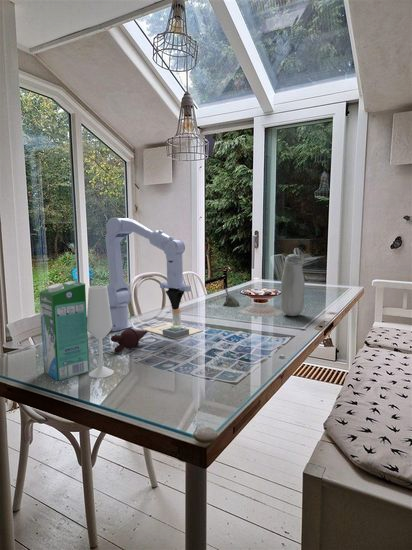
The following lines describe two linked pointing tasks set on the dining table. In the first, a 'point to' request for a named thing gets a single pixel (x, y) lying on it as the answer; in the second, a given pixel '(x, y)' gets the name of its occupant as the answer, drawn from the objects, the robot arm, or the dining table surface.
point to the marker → (176, 317)
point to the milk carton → (64, 330)
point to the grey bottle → (292, 286)
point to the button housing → (175, 334)
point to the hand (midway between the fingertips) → (175, 308)
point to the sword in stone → (230, 300)
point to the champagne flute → (99, 324)
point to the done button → (175, 328)
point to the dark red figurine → (127, 339)
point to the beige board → (159, 328)
